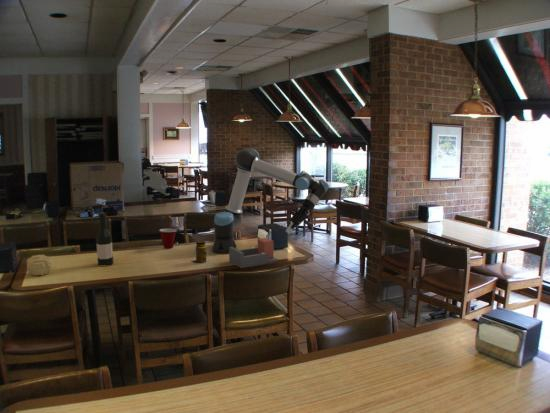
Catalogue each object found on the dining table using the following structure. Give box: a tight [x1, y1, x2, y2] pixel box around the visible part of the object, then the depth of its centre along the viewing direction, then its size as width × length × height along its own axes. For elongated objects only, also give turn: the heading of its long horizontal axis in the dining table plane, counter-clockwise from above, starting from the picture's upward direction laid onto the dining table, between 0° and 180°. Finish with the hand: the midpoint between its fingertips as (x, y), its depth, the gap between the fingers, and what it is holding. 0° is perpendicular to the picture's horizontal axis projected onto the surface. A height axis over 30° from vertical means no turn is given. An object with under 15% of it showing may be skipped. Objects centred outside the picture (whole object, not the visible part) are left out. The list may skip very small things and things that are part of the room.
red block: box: [257, 237, 275, 258], centre depth 282 cm, size 8×7×10 cm
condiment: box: [190, 240, 210, 265], centre depth 278 cm, size 7×8×12 cm
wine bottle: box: [95, 211, 114, 266], centre depth 272 cm, size 8×8×30 cm
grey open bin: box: [228, 246, 279, 269], centre depth 279 cm, size 15×24×8 cm, turn 121°
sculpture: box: [26, 254, 52, 276], centre depth 257 cm, size 11×12×11 cm
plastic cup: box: [159, 228, 177, 250], centre depth 307 cm, size 11×11×12 cm
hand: (287, 232), depth 287 cm, fingers closed
